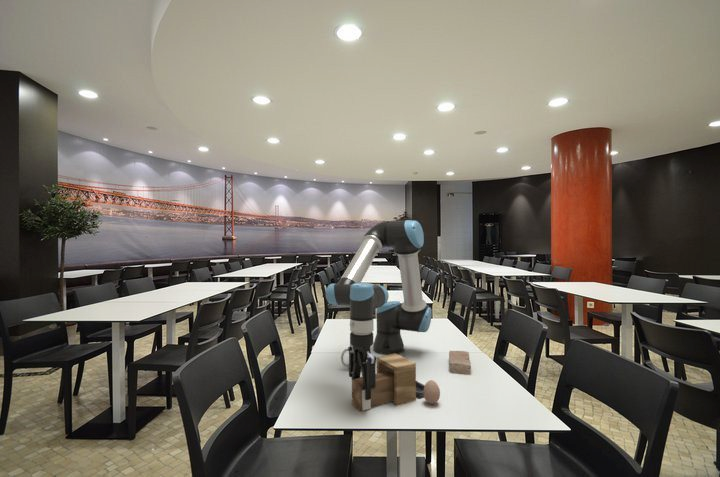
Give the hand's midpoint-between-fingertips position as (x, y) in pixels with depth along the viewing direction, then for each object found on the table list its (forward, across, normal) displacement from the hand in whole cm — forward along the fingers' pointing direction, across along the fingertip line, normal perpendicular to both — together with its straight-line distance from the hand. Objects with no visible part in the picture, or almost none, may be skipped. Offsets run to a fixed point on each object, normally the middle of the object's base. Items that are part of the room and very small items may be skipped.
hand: (361, 405), depth 106 cm
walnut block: (0, 0, +5) cm, 5 cm away
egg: (+1, +10, +21) cm, 23 cm away
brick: (+1, -8, +53) cm, 54 cm away
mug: (+1, -29, +15) cm, 33 cm away
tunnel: (0, 0, +14) cm, 14 cm away
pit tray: (0, 0, +22) cm, 22 cm away
